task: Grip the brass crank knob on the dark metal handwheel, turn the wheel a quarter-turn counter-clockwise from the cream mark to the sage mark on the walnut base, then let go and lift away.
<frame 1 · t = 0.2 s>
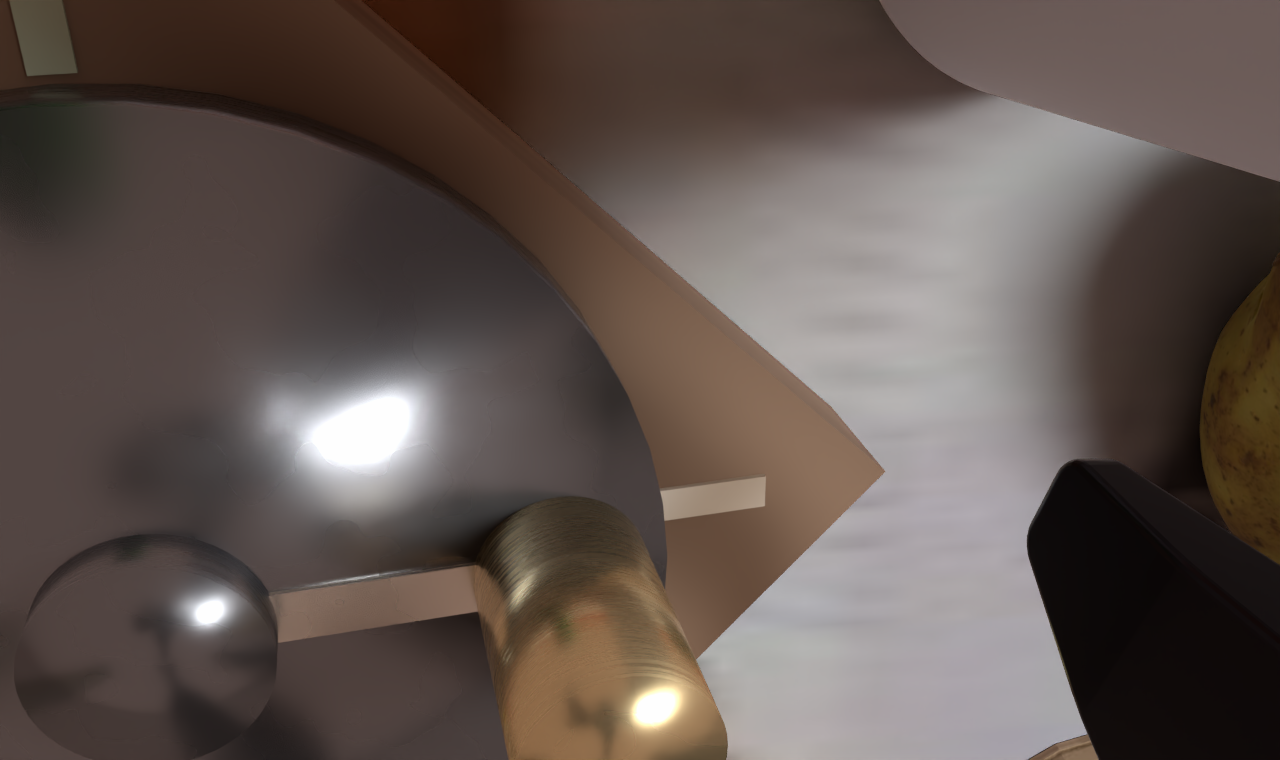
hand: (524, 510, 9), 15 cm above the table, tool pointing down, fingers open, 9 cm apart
handwheel: (143, 701, 19), point 7 cm above the table, hinge at 0.0°
wheel base: (181, 491, 25), on the table
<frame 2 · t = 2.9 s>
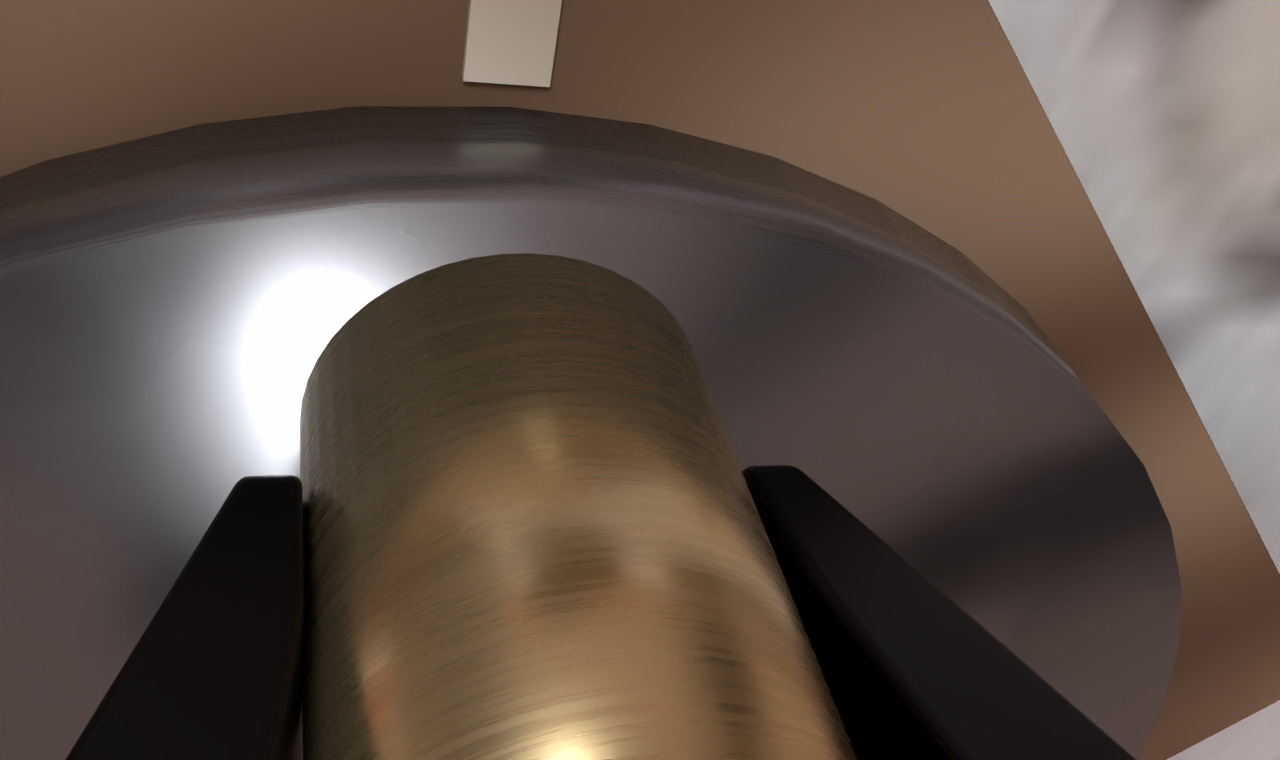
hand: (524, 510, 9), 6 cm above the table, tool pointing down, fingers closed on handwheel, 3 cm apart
wheel base: (409, 568, 18), on the table
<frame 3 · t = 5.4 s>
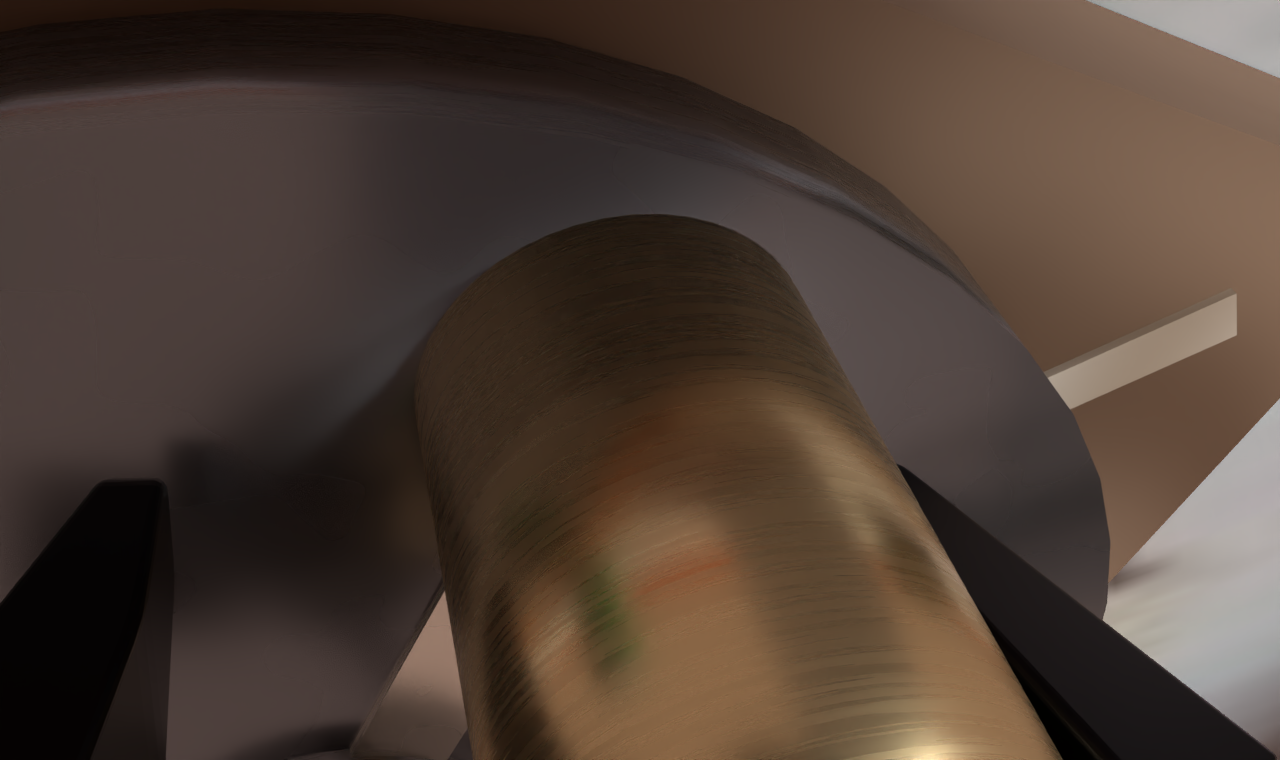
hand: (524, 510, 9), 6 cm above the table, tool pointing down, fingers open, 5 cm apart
wheel base: (313, 527, 17), on the table
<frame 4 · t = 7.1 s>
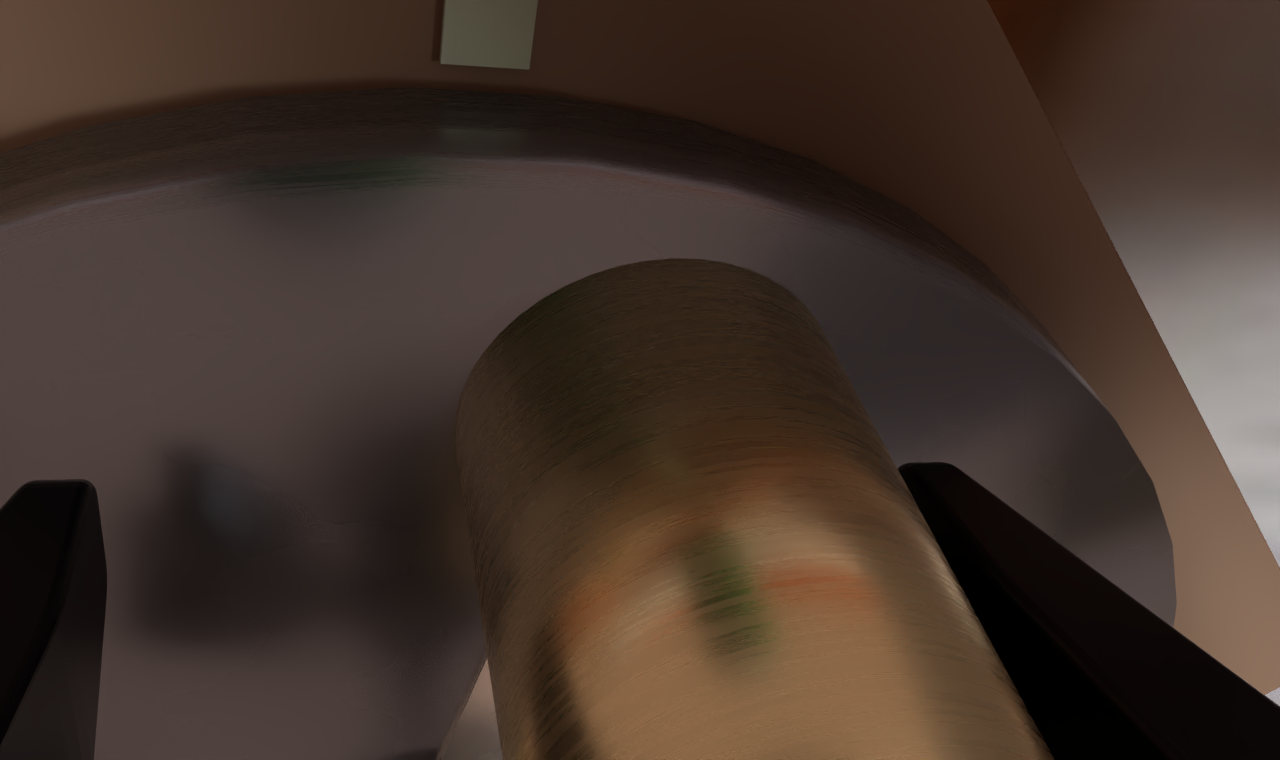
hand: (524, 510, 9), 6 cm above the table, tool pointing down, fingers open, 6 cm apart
wheel base: (399, 560, 17), on the table
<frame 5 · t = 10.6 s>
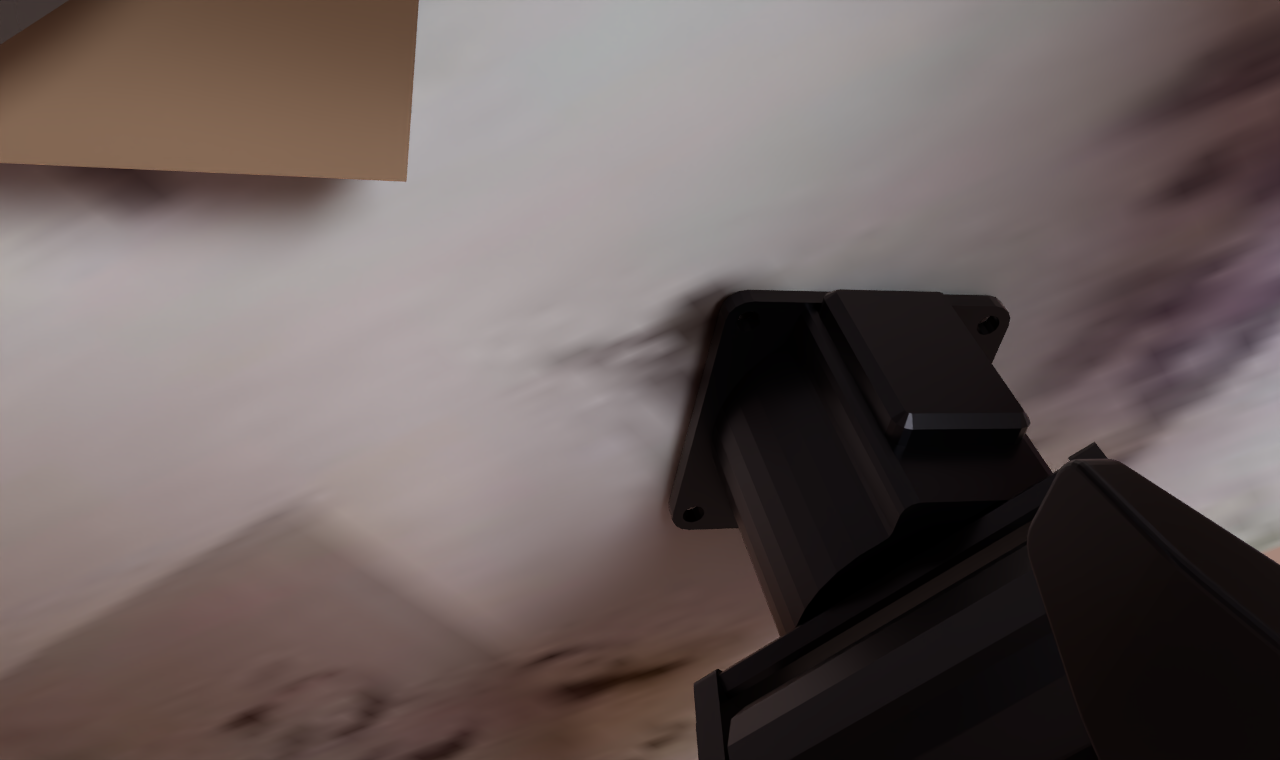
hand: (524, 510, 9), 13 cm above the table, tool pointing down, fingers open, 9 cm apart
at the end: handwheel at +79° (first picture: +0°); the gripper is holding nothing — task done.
